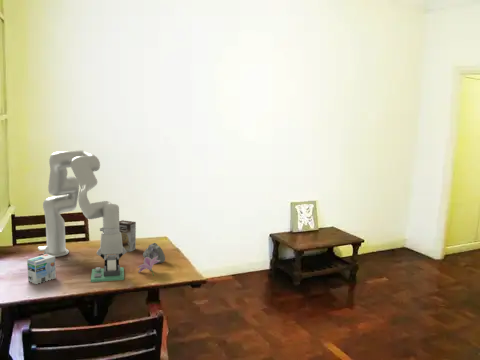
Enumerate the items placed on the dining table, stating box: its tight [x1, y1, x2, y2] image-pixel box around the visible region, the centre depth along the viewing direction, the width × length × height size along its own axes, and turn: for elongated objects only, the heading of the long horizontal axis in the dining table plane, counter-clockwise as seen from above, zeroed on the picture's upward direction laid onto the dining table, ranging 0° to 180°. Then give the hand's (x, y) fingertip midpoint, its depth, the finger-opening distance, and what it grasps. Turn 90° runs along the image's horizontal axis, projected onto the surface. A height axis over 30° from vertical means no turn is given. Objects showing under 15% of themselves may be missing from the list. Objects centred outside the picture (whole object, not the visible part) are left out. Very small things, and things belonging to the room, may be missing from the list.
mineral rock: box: [142, 242, 166, 265], centre depth 251 cm, size 13×11×10 cm
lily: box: [137, 256, 160, 277], centre depth 232 cm, size 12×12×10 cm
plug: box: [107, 254, 116, 271], centre depth 228 cm, size 4×5×8 cm
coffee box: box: [119, 219, 137, 253], centre depth 267 cm, size 9×6×16 cm
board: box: [90, 264, 125, 283], centre depth 228 cm, size 15×14×4 cm
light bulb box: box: [27, 253, 57, 285], centre depth 220 cm, size 11×7×11 cm, turn 148°
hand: (111, 266), depth 228 cm, fingers closed on plug, 4 cm apart
